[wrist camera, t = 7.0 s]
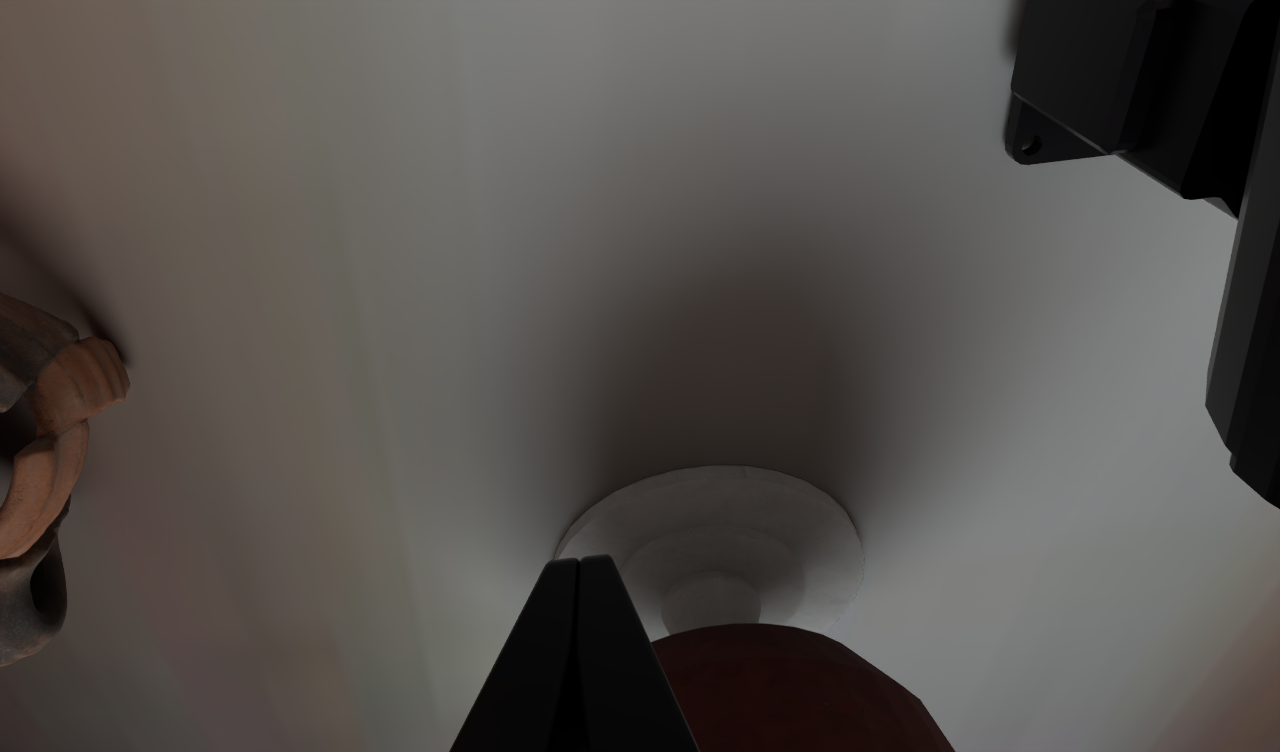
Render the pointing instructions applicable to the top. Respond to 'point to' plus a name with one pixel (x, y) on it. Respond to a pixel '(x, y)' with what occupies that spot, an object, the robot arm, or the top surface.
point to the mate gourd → (752, 610)
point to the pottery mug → (45, 462)
